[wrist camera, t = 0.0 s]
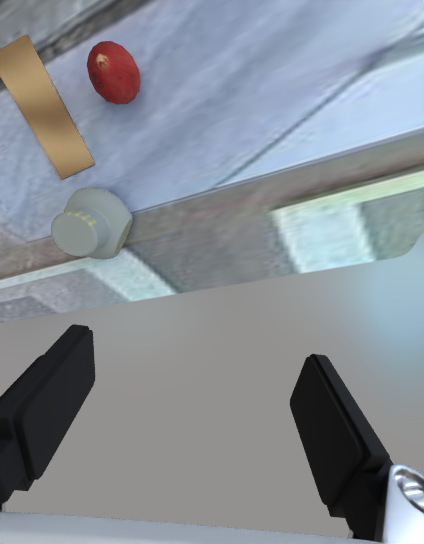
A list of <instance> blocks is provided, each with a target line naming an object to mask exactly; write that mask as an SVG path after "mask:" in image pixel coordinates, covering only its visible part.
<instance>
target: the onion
mask: <svg viewBox="0 0 424 544" xmlns="http://www.w3.org/2000/svg"><path fill="white" fill-rule="evenodd" d="M87 68H88V73H89V78H90V80H91V82H92V84H93V86H94V88H95V90H96V91H97V92H98V94H100V95H101V96H102V97H103V98H104V99H105V100H107V101H108V102H111V103H114V104H127V103H129V102H130V101H132V100H134V99H135V97H136V95H137V93H138V92H139V87H140V82H141V81H140V74H139V70H138V67H137V65H136V63H135V61H134V59H133V57H132V56H131V55H130V54H129V53H128V52H127V51H126V50H125V49H124V48H123V47H122V46H121V45H118V44H116V43H114V42H111V41H105V42H100V43H98V44H97V45H95V46H94V47H93V48H92V50H91V51H90V53H89V56H88V62H87Z"/></svg>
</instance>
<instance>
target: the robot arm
mask: <svg viewBox="0 0 424 544" xmlns="http://www.w3.org/2000/svg"><path fill="white" fill-rule="evenodd" d="M94 381H95V364H94V346H93V332H92V330H89V328H88V326H82V325H71V326H70V327H69V329H67V331H66V332H65V333H64V334H63V335H62V336H61V337H60V338H59V339H58V340H57V341H56V342H55V343H54V344H53V345H52V347H51V348H50V349H49V350H48V351H47V352H46V353H45V354H44V355H42V356H40V357H38V358H37V359H36V360H35V361H34V362H33V363H32V364H31V365H30V367H29V368H27V370H26V371H25V372H24V373H23V374H22V375H21V376H20V377H19V378H18V379H17V380H16V381H15V382H14V383H13V384H12V385H11V386H10V388H8V389H7V390H6V392H5V393H4V394H3V395H2V396H1V397H0V544H424V476H423V475H422V474H421V473H420V472H418V471H417V470H415V469H413V468H411V467H410V466H407V465H403V464H393V463H392V461H391V459H390V458H389V457H390V456H389V454H388V453H387V451H386V449H385V448H384V446H383V445H382V443H381V442H380V440H379V438H378V437H377V435H376V433H375V432H374V430H373V429H372V427H371V426H370V424H369V422H368V421H367V420H366V418H365V416H364V415H363V413H362V411H361V410H360V408H359V406H358V405H357V403H356V402H355V400H354V398H353V397H352V396H351V394H350V392H349V391H348V389H347V387H346V386H345V384H344V383H343V381H342V379H341V378H340V376H339V375H338V373H337V371H336V370H335V368H334V367H333V365H332V363H331V362H330V360H329V359H328V357H327V356H325V355H316V354H312V355H310V357H307V358H306V360H305V363H304V365H303V368H302V370H301V373H300V376H299V378H298V381H297V383H296V386H295V388H294V391H293V393H292V396H291V399H290V407H291V411H292V414H293V417H294V420H295V423H296V426H297V429H298V432H299V435H300V438H301V441H302V444H303V447H304V450H305V453H306V456H307V459H308V462H309V465H310V468H311V471H312V474H313V477H314V480H315V483H316V486H317V489H318V492H319V495H320V498H321V500H322V502H323V503H324V504H325V505H327V508H328V511H329V513H330V516H331V517H340V518H346V521H347V524H348V526H349V534H348V538H340V537H331V536H322V535H311V534H300V533H288V532H275V531H264V530H253V529H241V528H229V527H217V526H204V525H192V524H179V523H167V522H153V521H141V520H127V519H114V518H100V517H87V516H73V515H55V514H38V513H37V514H36V513H18V512H5V502H6V501H8V499H9V498H10V496H11V494H12V493H13V491H14V490H21V491H28V490H29V488H30V487H31V485H32V483H33V481H34V480H35V479H39V478H40V477H41V476H42V475H43V473H44V471H45V470H46V468H47V466H48V464H49V462H50V461H51V459H52V457H53V455H54V454H55V452H56V450H57V448H58V447H59V445H60V443H61V441H62V440H63V438H64V436H65V434H66V432H67V431H68V429H69V427H70V425H71V424H72V422H73V420H74V418H75V417H76V415H77V413H78V411H79V410H80V408H81V406H82V404H83V402H84V401H85V399H86V397H87V395H88V394H89V392H90V390H91V388H92V387H93V384H94Z"/></svg>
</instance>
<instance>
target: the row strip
mask: <svg viewBox="0 0 424 544" xmlns="http://www.w3.org/2000/svg"><path fill="white" fill-rule="evenodd" d="M0 77H1V78H2V80H3V82H4V83H5V85H6V87H7V88H8V90H9V92H10V94H11V95H12V97H13V99H14V100H15V102H16V104H17V105H18V107H19V109H20V110H21V112H22V114H23V116H24V117H25V119H26V121H27V122H28V124H29V126H30V127H31V129H32V131H33V132H34V134H35V136H36V138H37V139H38V141H39V143H40V144H41V146H42V148H43V149H44V151H45V153H46V154H47V156H48V158H49V160H50V161H51V163H52V165H53V166H54V168H55V170H56V171H57V173H58V175H59V176H60V178H61V179H64V178H66V177H69V176H71V175H73V174H75V173H77V172H79V171H82V170H84V169H86V168H88V167H90V166H92V165H95V163H94V161H93V159H92V157H91V155H90V153H89V151H88V149H87V147H86V145H85V144H84V142H83V140H82V138H81V136H80V134H79V132H78V130H77V128H76V126H75V124H74V123H73V121H72V119H71V117H70V115H69V113H68V111H67V109H66V107H65V105H64V104H63V102H62V100H61V98H60V96H59V94H58V92H57V90H56V88H55V86H54V85H53V83H52V81H51V79H50V77H49V75H48V73H47V71H46V69H45V67H44V66H43V64H42V62H41V60H40V58H39V56H38V54H37V52H36V50H35V48H34V47H33V45H32V43H31V41H30V39H29V37H28V35H24V36H23V37H21V38H19V39H18V40H16V41H14V42H12V43H11V44H9V45H7V46H5V47H4V48H2V49H0Z"/></svg>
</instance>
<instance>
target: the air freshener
mask: <svg viewBox="0 0 424 544" xmlns="http://www.w3.org/2000/svg"><path fill="white" fill-rule="evenodd" d="M132 221H133V217H132V215H131V212H130V210H129V209H128V207H127V206H126V204H125V203H124V202H123V201H122V200H121V199H120V198H119V197H117V196H116V195H115V194H113V193H111V192H109V191H107V190H104V189H101V188H95V187H88V188H82V189H79V190H77V191H75V192H74V193H73V195H72V196H71V198H70V199H69V201H68V203H67V205H66V208H65V210H64V213H62V214H60V215H58V216H57V217H56V218H55V219H54V220H53V222H52V225H51V234H52V237H53V240H54V242H55V243H56V245H57V246H58V247H59V248H60V249H61V250H62V251H64V252H66V254H69V255H72V256H75V257H78V256H80V257H84V256H88V257H91V258H95V259H109V258H113V257H116V256H117V254H118V253H119V251H120V250H121V248H122V246H123V244H124V242H125V240H126V238H127V236H128V233H129V231H130V228H131V225H132Z"/></svg>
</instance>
